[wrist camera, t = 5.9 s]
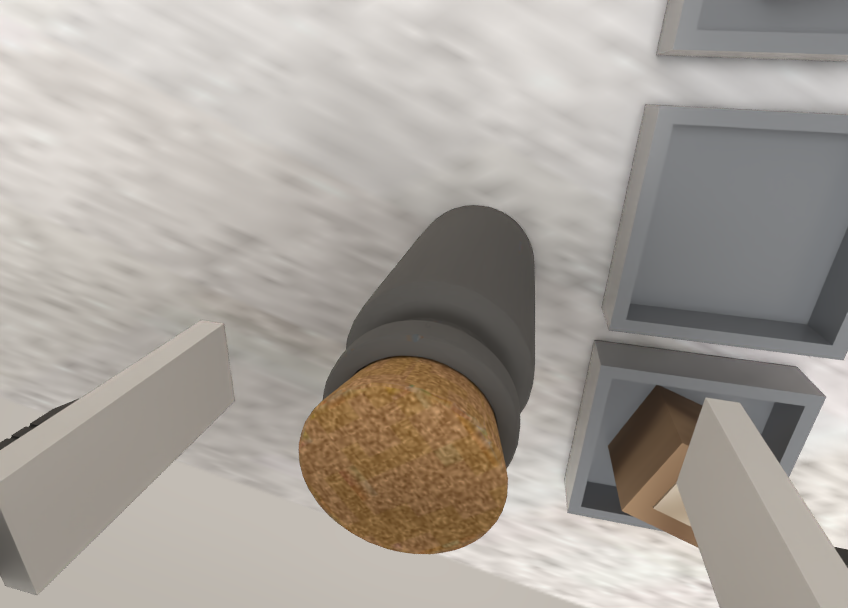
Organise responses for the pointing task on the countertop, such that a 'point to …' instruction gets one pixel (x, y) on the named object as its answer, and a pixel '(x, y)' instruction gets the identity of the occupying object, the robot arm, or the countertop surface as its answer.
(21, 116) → the countertop surface
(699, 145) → the dish
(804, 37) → the dish
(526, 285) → the bottle
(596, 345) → the dish
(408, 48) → the countertop surface
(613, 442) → the cube
